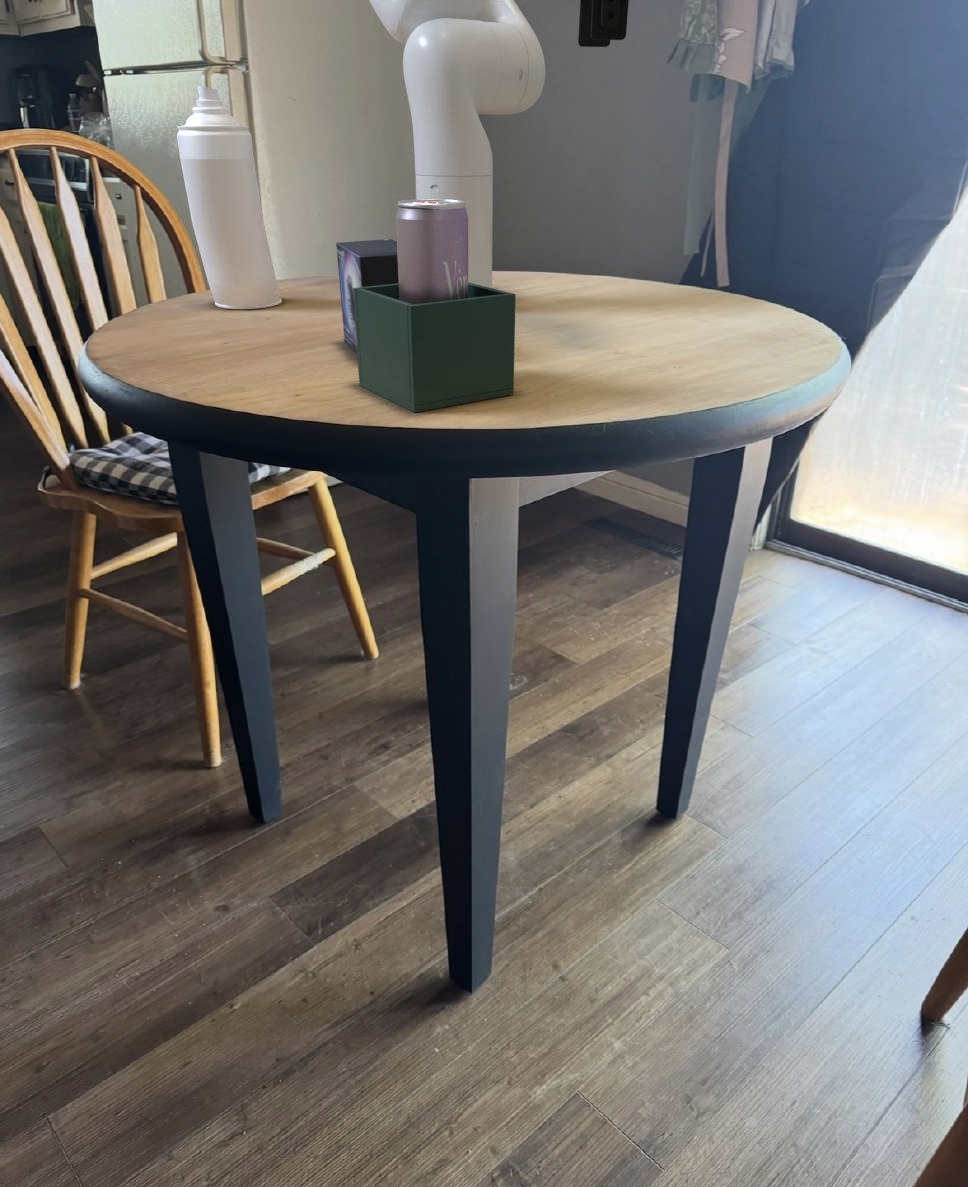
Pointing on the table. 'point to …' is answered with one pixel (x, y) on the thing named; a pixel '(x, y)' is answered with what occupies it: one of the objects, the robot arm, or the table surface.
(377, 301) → the bin
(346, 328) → the small box
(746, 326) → the table surface
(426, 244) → the beverage can
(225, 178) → the spray can
